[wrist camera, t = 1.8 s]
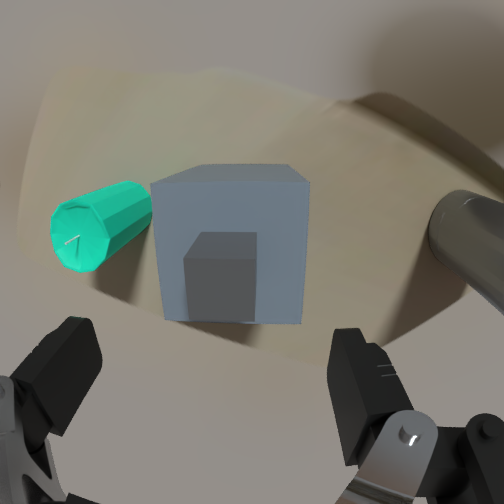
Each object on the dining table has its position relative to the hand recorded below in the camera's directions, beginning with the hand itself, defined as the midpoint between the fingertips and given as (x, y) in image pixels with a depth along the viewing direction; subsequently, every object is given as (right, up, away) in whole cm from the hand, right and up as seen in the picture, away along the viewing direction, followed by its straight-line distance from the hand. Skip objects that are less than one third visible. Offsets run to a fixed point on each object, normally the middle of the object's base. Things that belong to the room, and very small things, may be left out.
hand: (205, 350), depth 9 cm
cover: (+1, +8, +21) cm, 23 cm away
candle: (-12, +8, +22) cm, 26 cm away
